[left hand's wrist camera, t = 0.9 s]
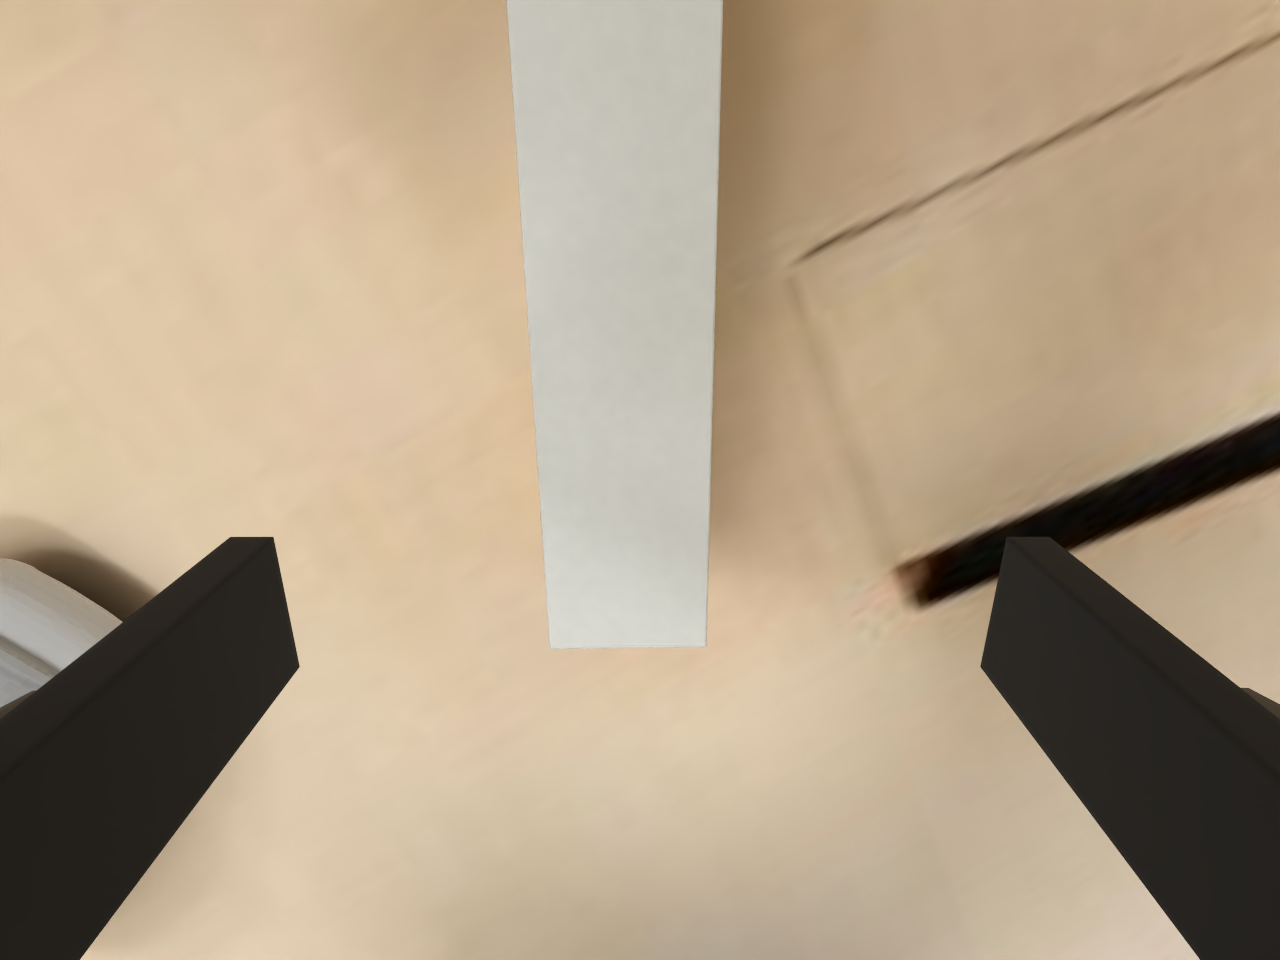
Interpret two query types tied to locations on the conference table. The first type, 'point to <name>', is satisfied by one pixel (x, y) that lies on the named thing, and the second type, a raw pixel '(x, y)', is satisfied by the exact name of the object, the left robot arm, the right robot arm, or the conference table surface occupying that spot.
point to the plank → (621, 306)
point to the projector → (42, 628)
